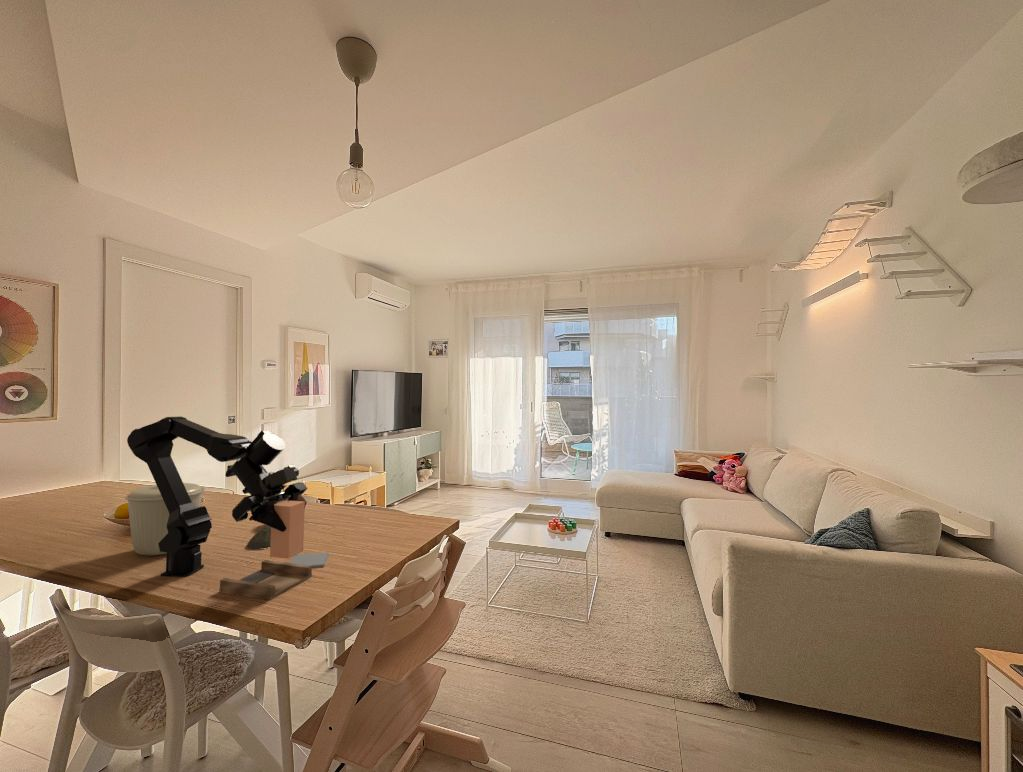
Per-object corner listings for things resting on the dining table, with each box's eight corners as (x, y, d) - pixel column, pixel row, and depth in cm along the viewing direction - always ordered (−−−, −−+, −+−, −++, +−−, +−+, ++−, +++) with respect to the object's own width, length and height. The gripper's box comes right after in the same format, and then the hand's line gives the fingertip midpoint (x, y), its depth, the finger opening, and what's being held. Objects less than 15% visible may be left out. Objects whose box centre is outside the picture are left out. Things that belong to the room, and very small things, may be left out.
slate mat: (286, 569, 111) (286, 567, 111) (293, 557, 119) (293, 555, 119) (323, 566, 113) (323, 564, 113) (328, 554, 122) (328, 552, 122)
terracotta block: (270, 556, 101) (271, 505, 101) (285, 549, 106) (286, 500, 106) (288, 558, 100) (290, 506, 100) (303, 551, 105) (304, 501, 105)
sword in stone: (259, 552, 123) (259, 509, 124) (241, 549, 126) (241, 508, 127) (290, 541, 132) (290, 502, 133) (272, 539, 136) (272, 500, 136)
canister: (145, 541, 130) (148, 471, 131) (213, 537, 135) (215, 469, 135) (105, 564, 113) (109, 483, 113) (185, 558, 117) (188, 480, 118)
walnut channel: (219, 591, 98) (219, 580, 98) (265, 570, 110) (265, 559, 110) (270, 600, 94) (270, 588, 94) (311, 576, 107) (312, 565, 107)
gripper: (244, 461, 95) (286, 515, 93) (302, 451, 113) (338, 496, 111) (213, 494, 97) (253, 548, 94) (275, 479, 115) (310, 524, 112)
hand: (292, 527), depth 103 cm, fingers closed on terracotta block, 5 cm apart
